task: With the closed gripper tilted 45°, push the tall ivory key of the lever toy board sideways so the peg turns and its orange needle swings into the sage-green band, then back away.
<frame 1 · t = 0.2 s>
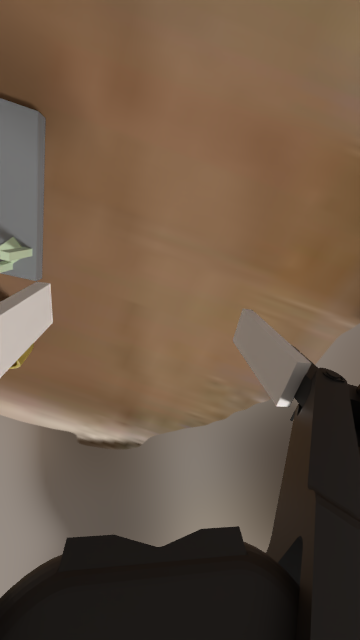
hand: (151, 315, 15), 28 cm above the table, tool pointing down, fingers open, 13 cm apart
flower pot: (17, 325, 43), on the table
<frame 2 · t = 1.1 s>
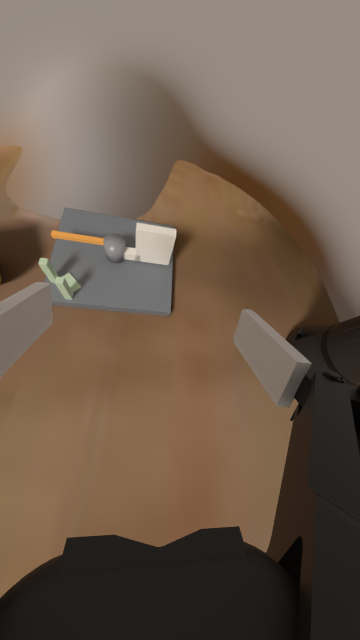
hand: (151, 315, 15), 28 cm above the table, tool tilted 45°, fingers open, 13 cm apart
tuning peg: (114, 240, 41), point 7 cm above the table, hinge at 0.0°
lever toy board: (116, 263, 47), on the table
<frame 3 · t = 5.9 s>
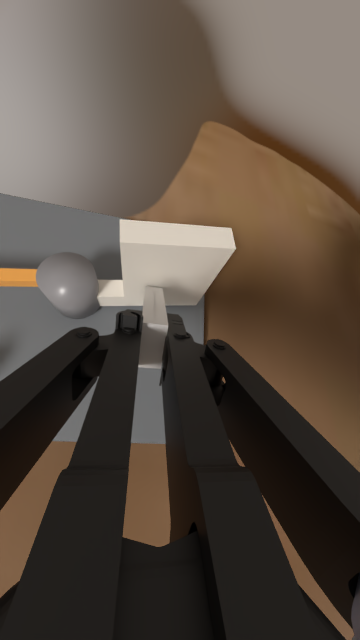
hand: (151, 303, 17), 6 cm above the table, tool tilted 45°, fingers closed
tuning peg: (64, 271, 15), point 7 cm above the table, hinge at 9.2°, touching gripper
lever toy board: (83, 313, 22), on the table
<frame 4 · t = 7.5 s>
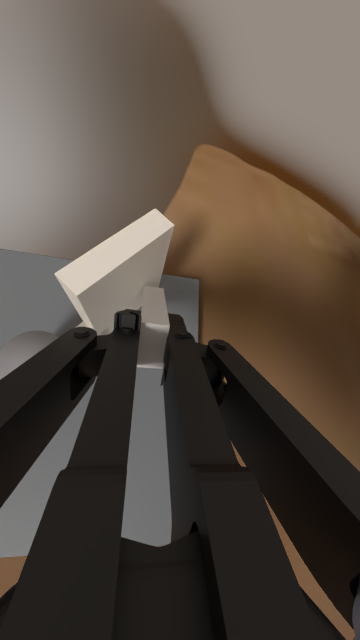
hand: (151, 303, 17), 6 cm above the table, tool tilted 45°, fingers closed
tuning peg: (28, 360, 13), point 7 cm above the table, hinge at 50.6°, touching gripper
lever toy board: (61, 378, 19), on the table
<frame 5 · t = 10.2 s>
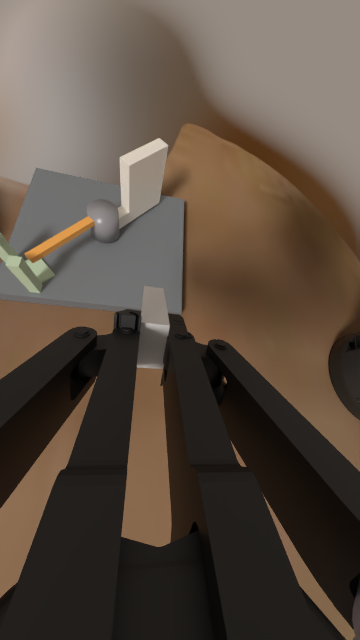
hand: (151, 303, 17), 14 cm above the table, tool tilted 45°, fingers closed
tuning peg: (102, 207, 28), point 7 cm above the table, hinge at 50.6°
lever toy board: (106, 245, 34), on the table
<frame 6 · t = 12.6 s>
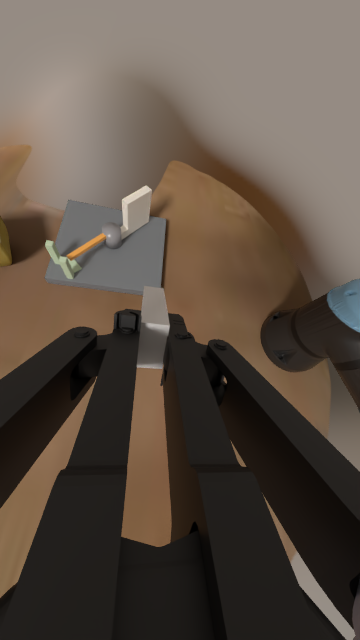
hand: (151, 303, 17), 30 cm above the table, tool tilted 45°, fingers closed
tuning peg: (111, 227, 46), point 7 cm above the table, hinge at 50.6°
lever toy board: (113, 250, 52), on the table
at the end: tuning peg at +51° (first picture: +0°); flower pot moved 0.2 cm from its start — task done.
